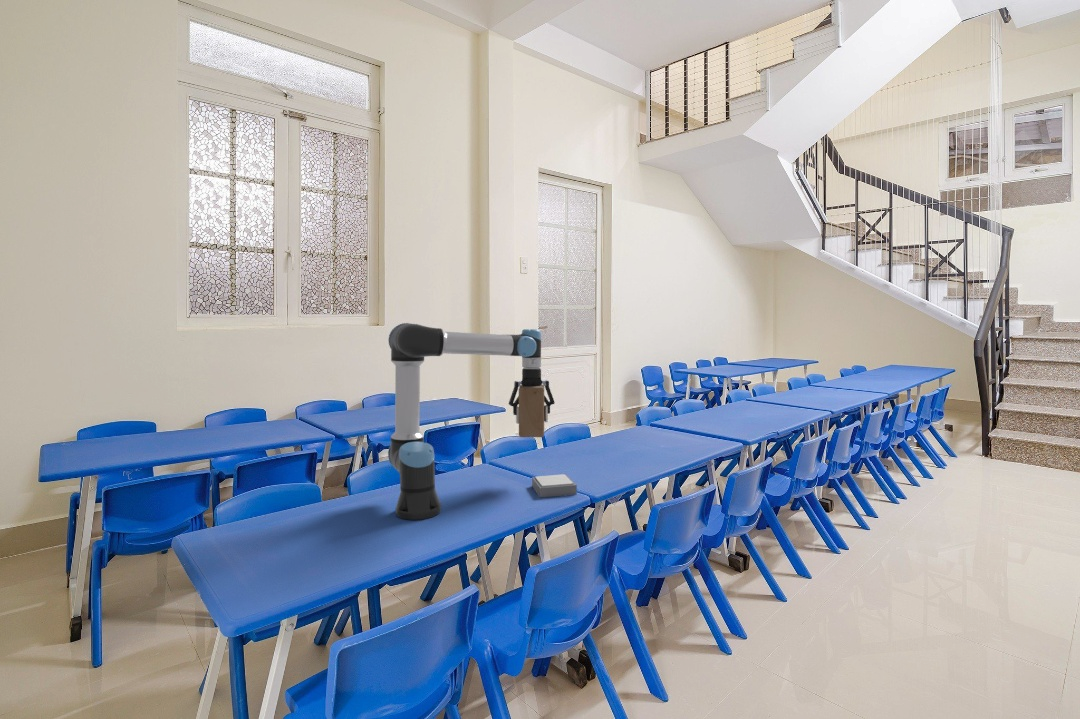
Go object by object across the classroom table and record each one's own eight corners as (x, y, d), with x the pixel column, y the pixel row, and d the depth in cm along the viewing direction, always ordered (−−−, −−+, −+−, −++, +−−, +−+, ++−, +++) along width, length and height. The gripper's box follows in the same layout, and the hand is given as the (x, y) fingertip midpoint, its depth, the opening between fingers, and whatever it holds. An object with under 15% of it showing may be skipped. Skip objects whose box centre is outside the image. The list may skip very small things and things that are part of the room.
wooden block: (544, 437, 225) (544, 387, 224) (518, 437, 225) (518, 387, 224) (544, 432, 235) (544, 384, 234) (519, 432, 235) (519, 384, 234)
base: (540, 497, 211) (540, 486, 211) (532, 486, 225) (532, 476, 225) (576, 494, 214) (576, 483, 214) (566, 483, 228) (566, 473, 228)
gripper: (504, 369, 222) (504, 425, 224) (562, 368, 227) (562, 422, 229) (500, 367, 229) (501, 421, 231) (557, 366, 234) (557, 419, 236)
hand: (531, 422), depth 230 cm, fingers closed on wooden block, 11 cm apart
